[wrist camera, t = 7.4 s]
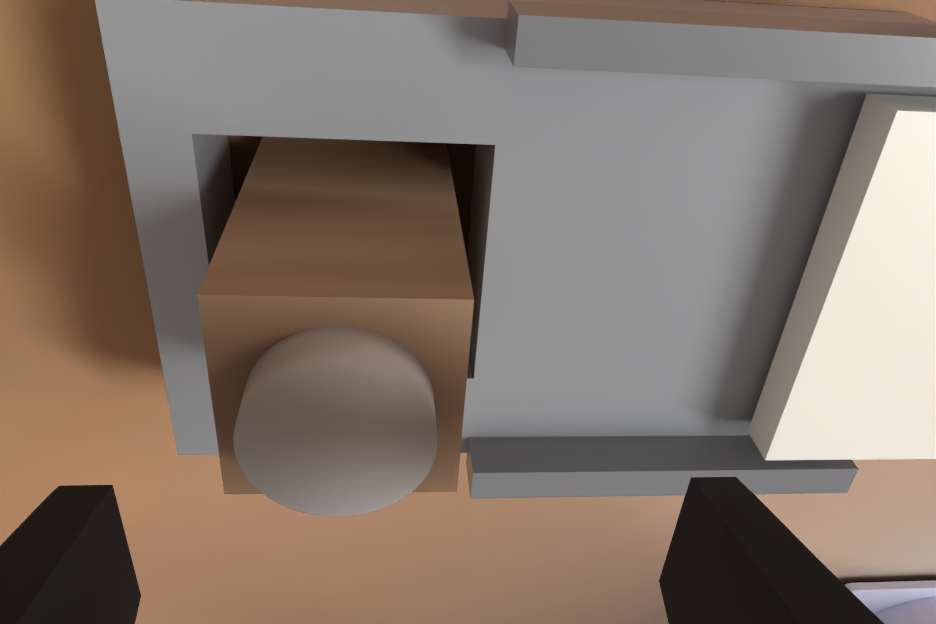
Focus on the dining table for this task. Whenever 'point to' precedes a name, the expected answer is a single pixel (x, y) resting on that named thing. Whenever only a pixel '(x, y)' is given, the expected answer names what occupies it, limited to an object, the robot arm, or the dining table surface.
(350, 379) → the block
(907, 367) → the lid
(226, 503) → the dining table surface
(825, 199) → the housing
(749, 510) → the robot arm
